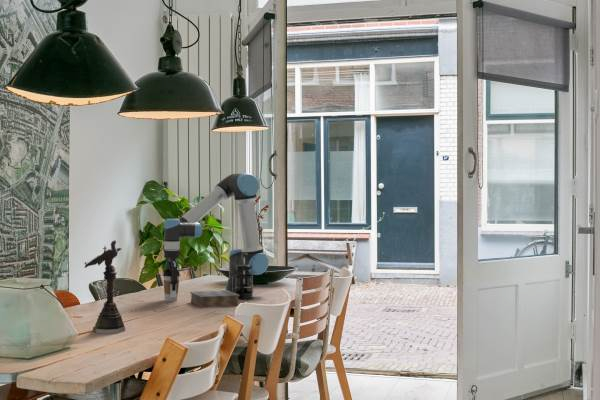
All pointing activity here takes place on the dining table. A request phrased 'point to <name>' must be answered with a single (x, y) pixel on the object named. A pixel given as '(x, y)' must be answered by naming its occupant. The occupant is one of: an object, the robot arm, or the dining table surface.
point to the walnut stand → (214, 298)
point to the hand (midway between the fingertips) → (171, 296)
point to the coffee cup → (167, 285)
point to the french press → (243, 282)
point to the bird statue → (108, 295)
